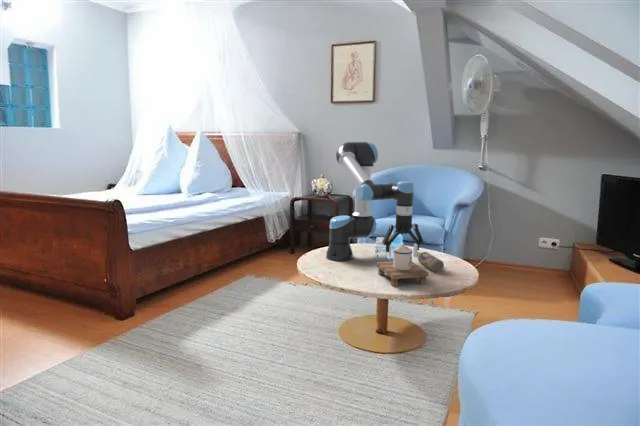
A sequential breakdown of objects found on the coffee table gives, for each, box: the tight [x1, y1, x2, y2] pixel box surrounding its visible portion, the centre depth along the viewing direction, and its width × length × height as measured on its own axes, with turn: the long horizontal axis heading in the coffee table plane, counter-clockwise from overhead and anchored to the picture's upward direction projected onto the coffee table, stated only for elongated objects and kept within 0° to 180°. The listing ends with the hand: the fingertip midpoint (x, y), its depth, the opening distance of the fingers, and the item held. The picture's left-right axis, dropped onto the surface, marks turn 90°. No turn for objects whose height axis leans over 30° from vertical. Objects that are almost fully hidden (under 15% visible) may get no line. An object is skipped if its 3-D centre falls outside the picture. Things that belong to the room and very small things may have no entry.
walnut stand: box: [376, 260, 430, 287], centre depth 209 cm, size 20×18×6 cm
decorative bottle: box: [417, 251, 445, 273], centre depth 232 cm, size 26×8×7 cm, turn 10°
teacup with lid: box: [392, 243, 413, 271], centre depth 207 cm, size 12×9×12 cm
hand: (402, 257), depth 207 cm, fingers open, 13 cm apart
